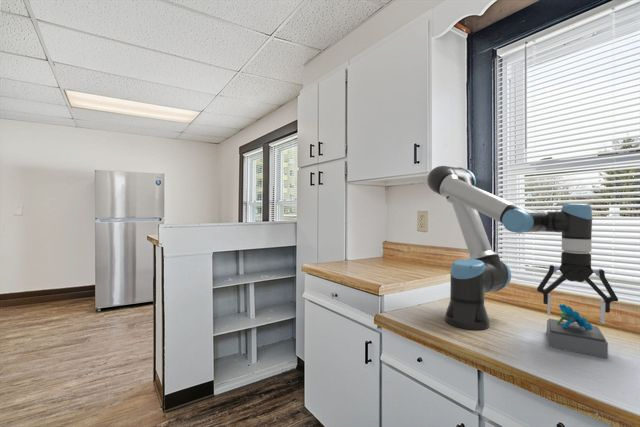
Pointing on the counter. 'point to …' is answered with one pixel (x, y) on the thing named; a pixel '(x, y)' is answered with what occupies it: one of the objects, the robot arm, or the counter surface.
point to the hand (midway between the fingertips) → (574, 318)
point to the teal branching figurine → (572, 318)
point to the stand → (576, 338)
